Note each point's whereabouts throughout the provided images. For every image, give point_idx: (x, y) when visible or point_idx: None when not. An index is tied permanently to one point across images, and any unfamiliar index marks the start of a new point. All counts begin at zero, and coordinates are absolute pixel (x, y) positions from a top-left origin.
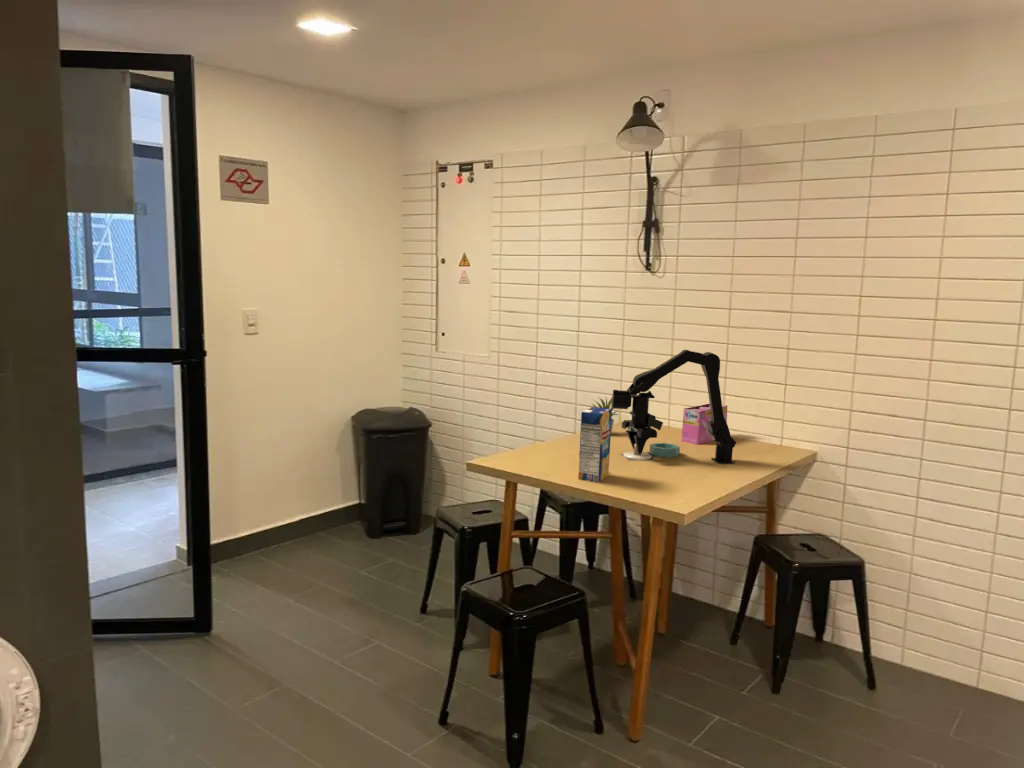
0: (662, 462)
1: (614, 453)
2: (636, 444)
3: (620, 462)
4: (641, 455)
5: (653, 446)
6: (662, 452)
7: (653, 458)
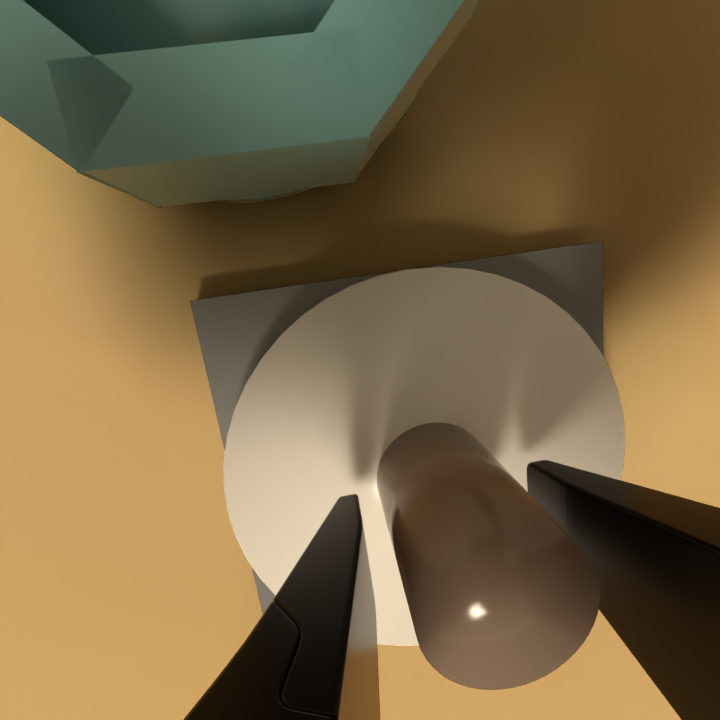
0: (658, 162)
1: (181, 673)
2: (697, 697)
3: (604, 661)
4: (484, 429)
5: (263, 133)
6: (467, 14)
7: (528, 254)
